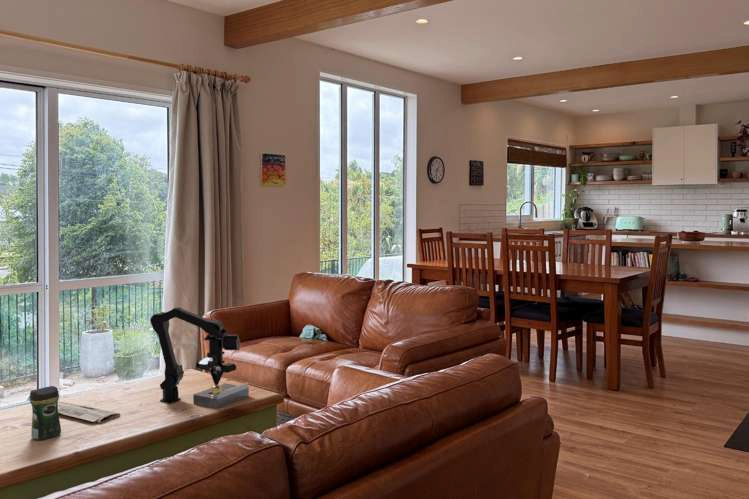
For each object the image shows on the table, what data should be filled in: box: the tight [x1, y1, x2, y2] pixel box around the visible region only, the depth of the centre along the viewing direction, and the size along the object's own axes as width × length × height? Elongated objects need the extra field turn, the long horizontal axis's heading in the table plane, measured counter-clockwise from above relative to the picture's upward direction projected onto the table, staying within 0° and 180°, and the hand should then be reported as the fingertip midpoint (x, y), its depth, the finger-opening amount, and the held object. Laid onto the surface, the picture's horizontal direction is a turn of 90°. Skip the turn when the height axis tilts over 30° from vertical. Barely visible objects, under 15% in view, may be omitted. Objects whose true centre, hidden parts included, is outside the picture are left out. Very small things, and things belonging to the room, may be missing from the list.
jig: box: [192, 382, 250, 409], centre depth 284 cm, size 14×20×6 cm
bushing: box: [211, 384, 222, 395], centre depth 281 cm, size 4×4×7 cm
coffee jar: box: [29, 385, 62, 441], centre depth 239 cm, size 10×8×19 cm
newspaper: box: [58, 400, 121, 424], centre depth 265 cm, size 35×12×4 cm, turn 64°
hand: (216, 384), depth 281 cm, fingers closed
